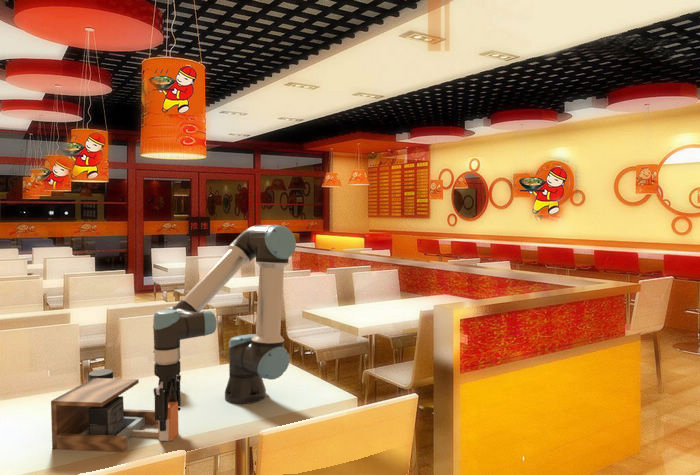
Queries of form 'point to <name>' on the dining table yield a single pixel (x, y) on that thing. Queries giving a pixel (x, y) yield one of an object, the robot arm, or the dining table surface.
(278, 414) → the dining table surface
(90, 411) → the small box
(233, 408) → the dining table surface
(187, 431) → the dining table surface
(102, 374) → the jar
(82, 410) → the shelf lane
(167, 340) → the robot arm
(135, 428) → the grey and orange frame
